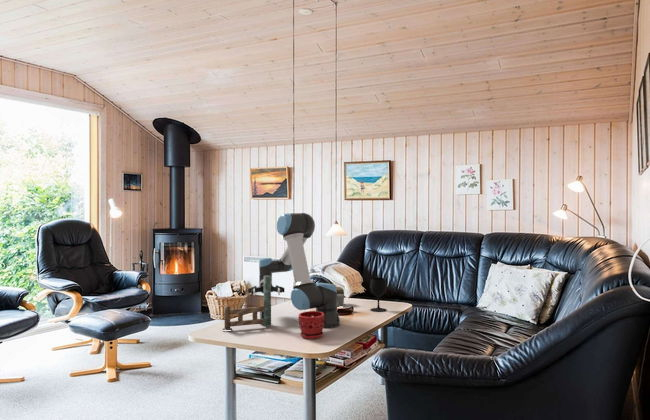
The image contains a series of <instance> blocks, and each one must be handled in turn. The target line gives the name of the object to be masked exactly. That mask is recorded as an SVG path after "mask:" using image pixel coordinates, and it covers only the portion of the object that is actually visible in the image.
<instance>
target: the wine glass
mask: <svg viewBox="0 0 650 420" xmlns="http://www.w3.org/2000/svg"><path fill="white" fill-rule="evenodd" d="M387 285H388V284H387V279H386V278H385V277H371V279H370V283H369V287H370V292H371V294H372V295H373V296H375V297H376V298H377V307H372V308H370V310H369V311H371V312H374V313H381V312H382V313H384V312H387V309H386V308H382V307H380V298H381V297H382V296H383V295H384V294H386V291H387V290H388V288H387V287H388V286H387Z"/></svg>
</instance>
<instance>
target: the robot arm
mask: <svg viewBox="0 0 650 420" xmlns="http://www.w3.org/2000/svg"><path fill="white" fill-rule="evenodd" d="M315 229H316V223H315V220H314V218H313V216H312V215H310V214H309V213H306V212H298V213H296V212H295V213H294V212H293V213H290V212H287V213H283V214H280V216H278V219H277V222H276V230H277V233H278V235H281V236H282V238H283V240H284V241H286V243H287V244H286V245H287V247H286V249H285V251H284V252H283V254H281V255H282V256H281V257H280V258H279V259H278V260H277V259H276V260H275V259H274V260H273V259H272V258H271V257H261V258H259V262H258V267H259V279H258V280H259V281H258V282H259V283H258V285H259V286H257V285H253V286H252V287H248V288H247V294H251V295H252V296H256V293H262V294H264V277H263V276H271V293H273V292H275V293H277V294H278V296H281V295H280V293H281V294H282V293H285V287H283V286H279V285H277V284H276V285H275V286H274V285H273V277H272V276H273V274H276V273H288V272H291V271H292V275H293V279H294V285H293V289H292V290H291V293H290V300H291V303H292V306H293V307H294V308H295V309H297V310H298V311H307V310H311V309H315V311H319V312H323V313H324V327H323V329H325V328H326V329H329V328H337V327H339V326H341V320H340V316H339V312H337V288H336V287H337V285H336V284H333V283H327V282H316V283H315V282H314V281H313V280H312V279H311V276H310V270H309V266H308V261H307V257H306V252H305V248H304V245H305V243H306V241H307V240H308V239H309V238H311V237H312V236H313V234H314V232H315Z"/></svg>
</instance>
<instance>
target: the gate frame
mask: <svg viewBox="0 0 650 420" xmlns="http://www.w3.org/2000/svg"><path fill="white" fill-rule="evenodd" d="M259 319H264V312H259ZM259 325H260V326H262V327H263V326H265V325H264V324H259ZM223 330H232V331H233V327H230V328H229V329H225V327H224V328H222V331H223Z"/></svg>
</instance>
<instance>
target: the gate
mask: <svg viewBox="0 0 650 420" xmlns="http://www.w3.org/2000/svg"><path fill="white" fill-rule="evenodd" d="M263 277H264V293H263V306H253V307H243V308H231V305H224V307H223V308H224V310H223V311H224V315H223V316H224V317H223V318H224V328H225V329H229V328H233V327H240V326H241V327H242V326H250V325H251V326H254V325H260V324H264V325H263V326H271V325H272V292H271V276H263ZM260 312H264V319H260V318H258V313H260ZM248 313H252V319H244V314H248ZM236 314H237V320H234V321H233V320H232V321H231V315H236Z"/></svg>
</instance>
